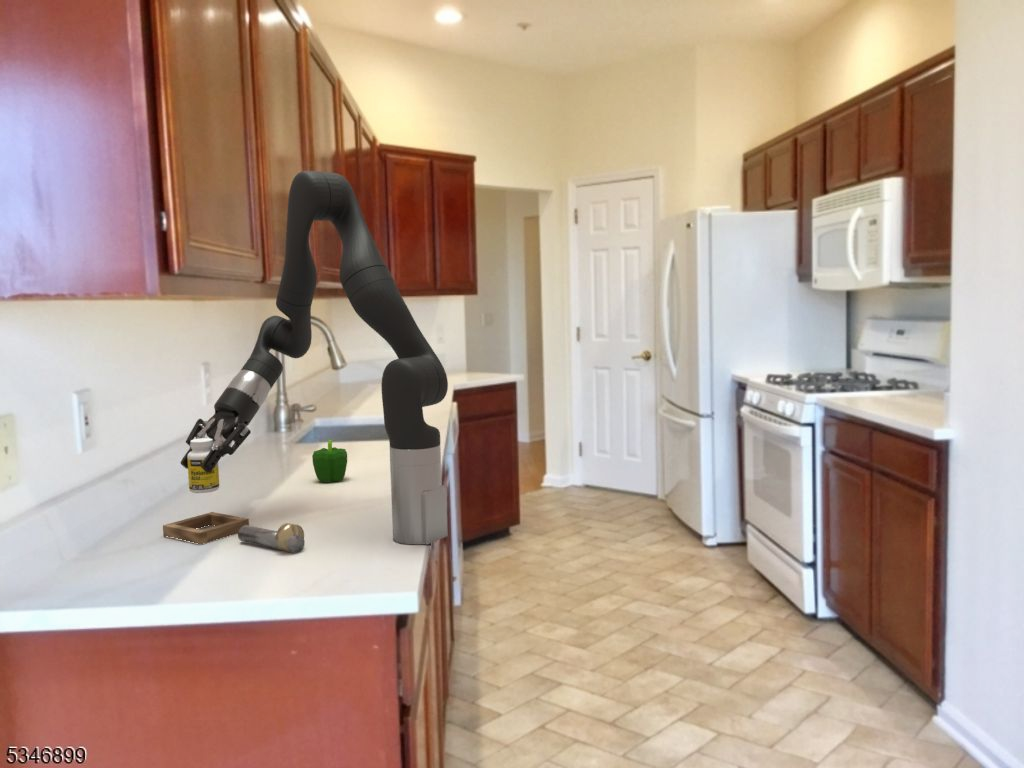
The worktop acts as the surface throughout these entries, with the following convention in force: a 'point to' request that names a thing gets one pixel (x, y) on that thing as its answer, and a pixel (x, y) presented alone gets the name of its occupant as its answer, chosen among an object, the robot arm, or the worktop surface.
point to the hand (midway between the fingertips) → (194, 467)
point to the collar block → (222, 528)
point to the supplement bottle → (198, 476)
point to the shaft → (275, 537)
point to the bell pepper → (330, 463)
